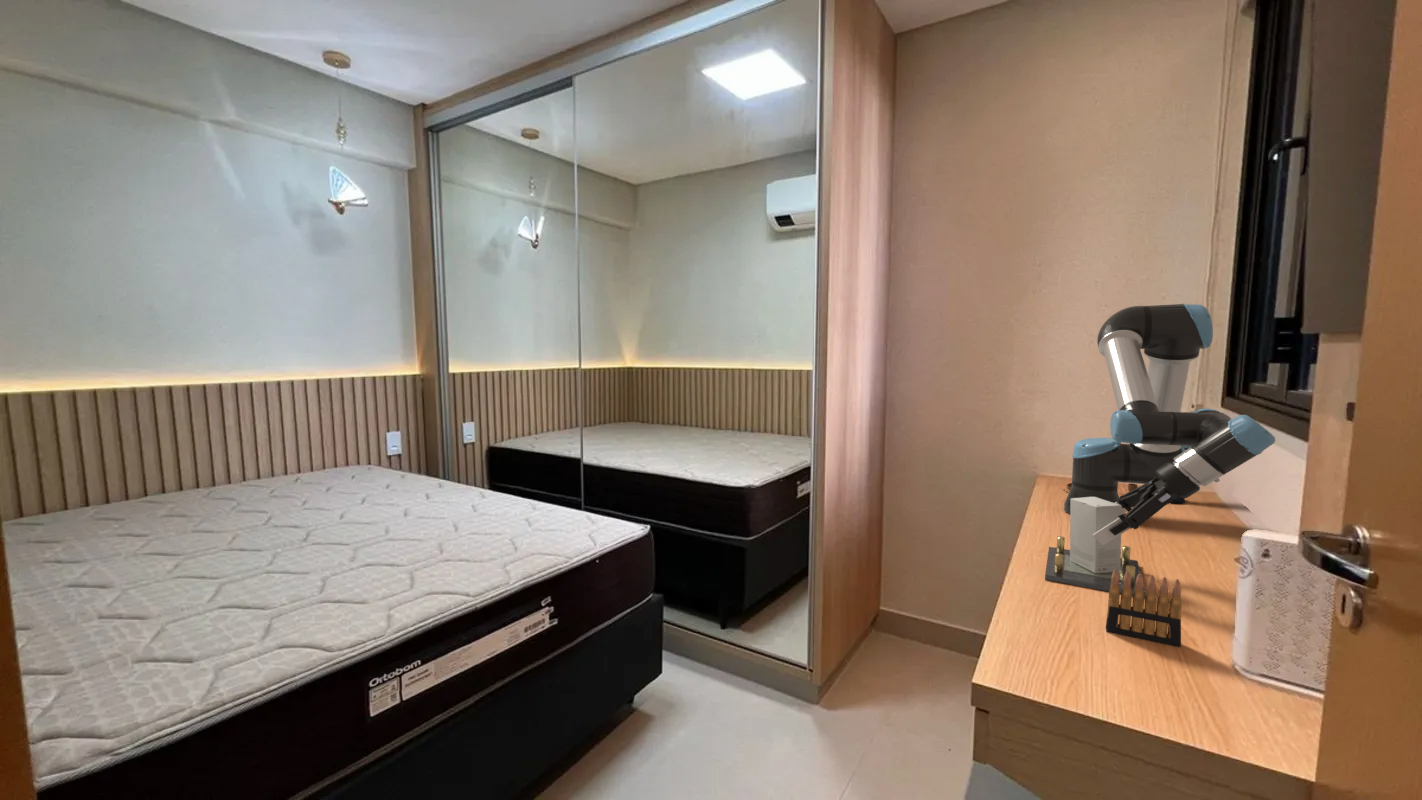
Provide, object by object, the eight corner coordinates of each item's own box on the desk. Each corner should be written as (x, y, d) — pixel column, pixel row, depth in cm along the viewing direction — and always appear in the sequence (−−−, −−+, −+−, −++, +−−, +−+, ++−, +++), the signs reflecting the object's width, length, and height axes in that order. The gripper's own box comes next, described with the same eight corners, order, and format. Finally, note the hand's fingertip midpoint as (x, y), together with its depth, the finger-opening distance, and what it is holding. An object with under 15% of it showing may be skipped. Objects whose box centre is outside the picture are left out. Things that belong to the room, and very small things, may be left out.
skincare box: (1121, 573, 125) (1125, 505, 123) (1093, 574, 124) (1097, 507, 123) (1092, 558, 133) (1095, 495, 131) (1066, 560, 132) (1069, 496, 131)
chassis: (1048, 551, 142) (1049, 531, 141) (1137, 565, 132) (1138, 544, 131) (1044, 579, 125) (1045, 557, 125) (1145, 598, 115) (1146, 574, 115)
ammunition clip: (1179, 642, 99) (1183, 578, 98) (1180, 647, 97) (1185, 582, 96) (1105, 627, 104) (1108, 566, 103) (1106, 632, 103) (1109, 569, 102)
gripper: (1213, 502, 106) (1113, 562, 116) (1192, 475, 126) (1108, 528, 136) (1179, 472, 108) (1083, 533, 118) (1164, 450, 129) (1083, 504, 139)
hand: (1097, 531), depth 127 cm, fingers open, 13 cm apart
